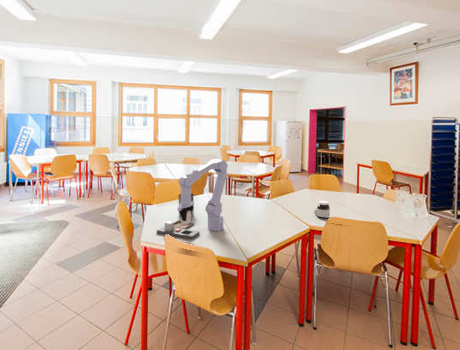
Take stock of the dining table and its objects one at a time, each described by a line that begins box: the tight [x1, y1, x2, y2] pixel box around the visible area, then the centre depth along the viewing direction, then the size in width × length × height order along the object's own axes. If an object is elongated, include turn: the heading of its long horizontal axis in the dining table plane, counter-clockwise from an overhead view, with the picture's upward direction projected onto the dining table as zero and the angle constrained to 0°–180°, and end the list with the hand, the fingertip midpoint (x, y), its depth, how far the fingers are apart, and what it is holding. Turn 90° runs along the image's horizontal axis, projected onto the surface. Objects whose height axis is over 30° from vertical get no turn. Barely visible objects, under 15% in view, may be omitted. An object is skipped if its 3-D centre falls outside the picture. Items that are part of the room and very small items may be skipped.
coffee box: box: [178, 193, 195, 217], centre depth 214 cm, size 9×6×16 cm
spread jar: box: [313, 200, 331, 220], centre depth 217 cm, size 12×11×12 cm
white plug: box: [180, 211, 192, 224], centre depth 175 cm, size 4×4×7 cm
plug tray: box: [173, 219, 195, 230], centre depth 192 cm, size 12×12×2 cm
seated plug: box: [164, 220, 175, 231], centre depth 180 cm, size 4×4×7 cm
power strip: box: [156, 225, 200, 241], centre depth 178 cm, size 24×9×3 cm, turn 67°
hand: (186, 219), depth 175 cm, fingers closed on white plug, 4 cm apart
